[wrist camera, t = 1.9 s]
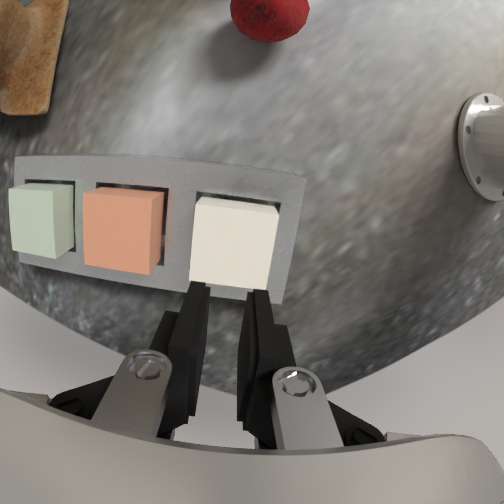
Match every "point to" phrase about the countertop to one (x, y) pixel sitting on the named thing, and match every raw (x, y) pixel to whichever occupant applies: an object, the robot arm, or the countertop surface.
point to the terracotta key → (122, 229)
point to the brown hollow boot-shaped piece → (29, 54)
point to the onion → (269, 18)
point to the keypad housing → (169, 210)
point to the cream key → (232, 243)
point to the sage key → (42, 219)
